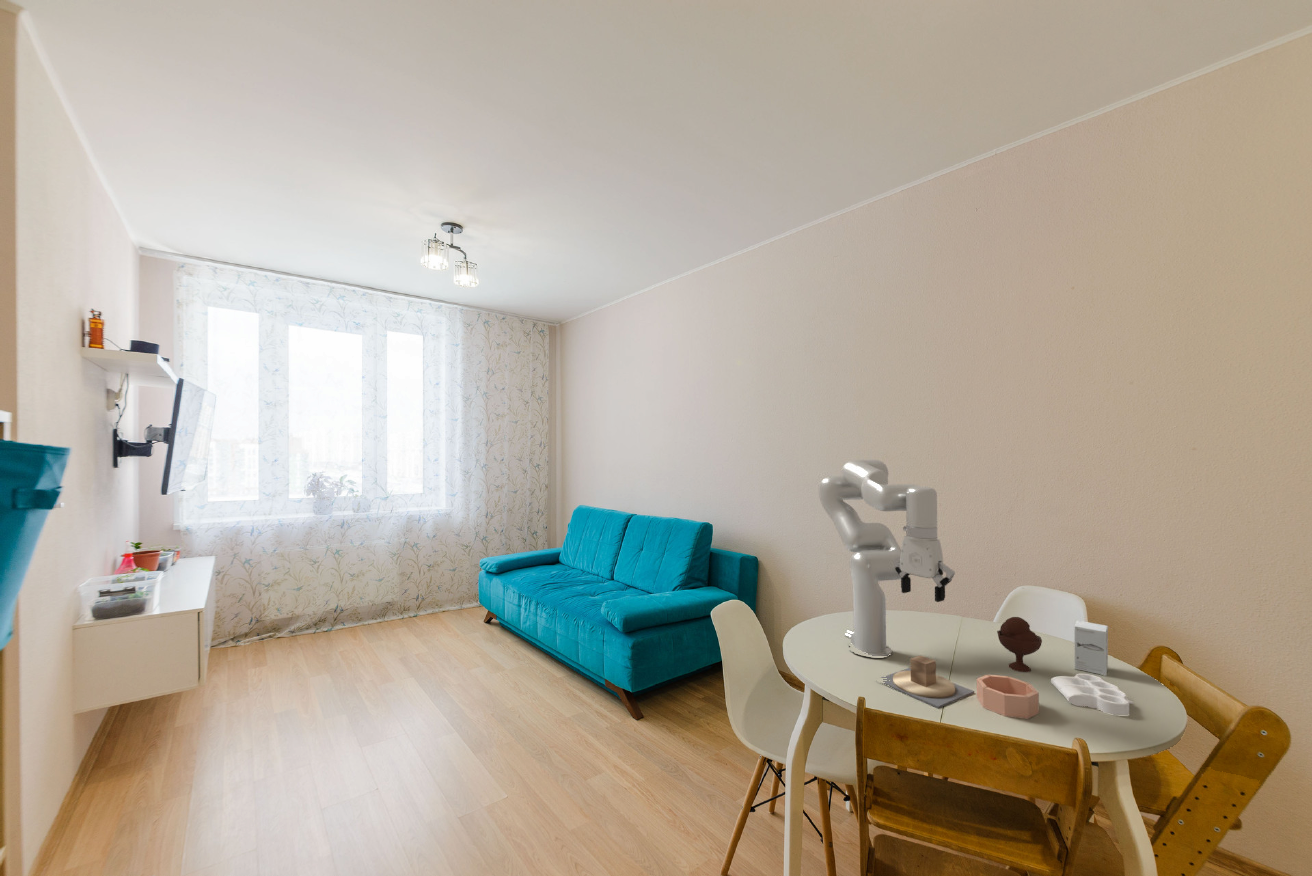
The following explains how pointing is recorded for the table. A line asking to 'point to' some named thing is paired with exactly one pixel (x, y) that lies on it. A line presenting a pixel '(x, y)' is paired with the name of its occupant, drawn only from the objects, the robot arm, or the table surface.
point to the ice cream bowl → (1018, 641)
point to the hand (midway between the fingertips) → (922, 596)
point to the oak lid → (924, 680)
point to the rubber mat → (935, 702)
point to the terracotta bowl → (1008, 696)
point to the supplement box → (1091, 647)
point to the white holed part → (1093, 693)
